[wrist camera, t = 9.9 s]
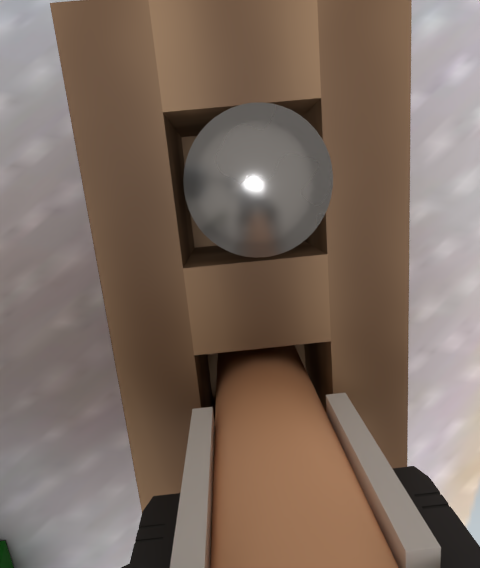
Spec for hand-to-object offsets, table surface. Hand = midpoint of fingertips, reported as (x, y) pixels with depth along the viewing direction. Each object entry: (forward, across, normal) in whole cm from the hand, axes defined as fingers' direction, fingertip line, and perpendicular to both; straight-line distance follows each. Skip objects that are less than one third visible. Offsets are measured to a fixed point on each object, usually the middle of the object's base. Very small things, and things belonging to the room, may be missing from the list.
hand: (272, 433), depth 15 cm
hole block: (+9, 0, -5) cm, 10 cm away
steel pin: (+8, 0, -9) cm, 12 cm away
